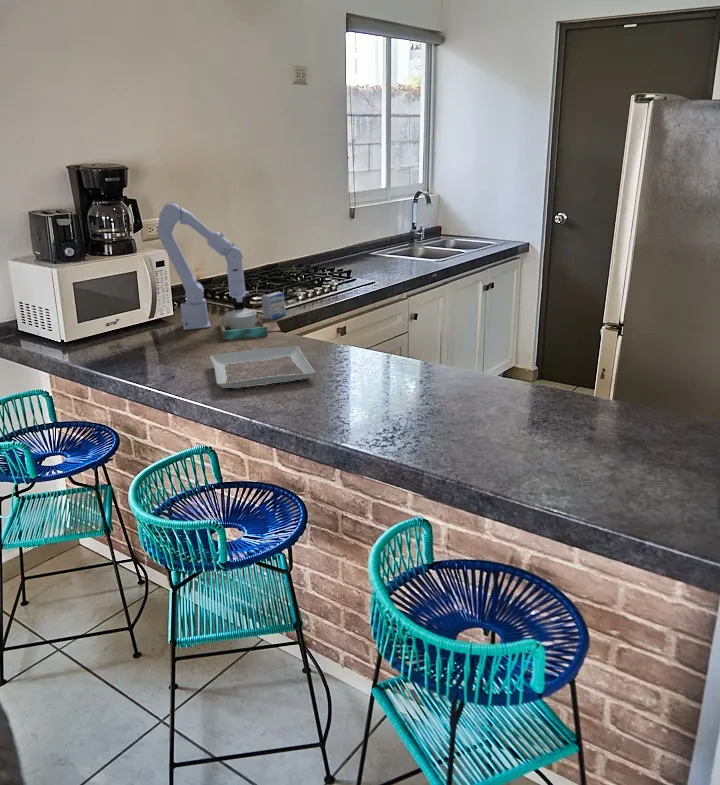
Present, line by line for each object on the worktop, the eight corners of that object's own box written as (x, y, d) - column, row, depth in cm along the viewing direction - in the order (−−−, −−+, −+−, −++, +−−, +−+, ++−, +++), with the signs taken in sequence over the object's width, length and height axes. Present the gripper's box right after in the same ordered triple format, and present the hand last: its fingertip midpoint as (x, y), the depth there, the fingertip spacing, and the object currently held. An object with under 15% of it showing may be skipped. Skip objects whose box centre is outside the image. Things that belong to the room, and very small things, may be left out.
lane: (223, 340, 240) (222, 331, 239) (220, 325, 258) (219, 317, 257) (282, 334, 244) (281, 325, 243) (274, 319, 262) (274, 312, 261)
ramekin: (251, 331, 248) (250, 317, 246) (221, 331, 250) (220, 316, 248) (262, 323, 258) (260, 309, 256) (233, 322, 260) (231, 308, 258)
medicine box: (271, 319, 262) (269, 296, 259) (262, 318, 265) (260, 295, 262) (285, 315, 268) (284, 292, 265) (277, 313, 271) (275, 291, 268)
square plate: (218, 396, 190) (216, 383, 189) (210, 366, 215) (209, 354, 214) (317, 383, 197) (316, 370, 195) (298, 355, 222) (297, 343, 220)
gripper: (249, 283, 249) (253, 320, 254) (245, 275, 263) (249, 311, 267) (229, 285, 248) (233, 323, 253) (226, 277, 261) (230, 313, 266)
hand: (240, 317), depth 260 cm, fingers closed
